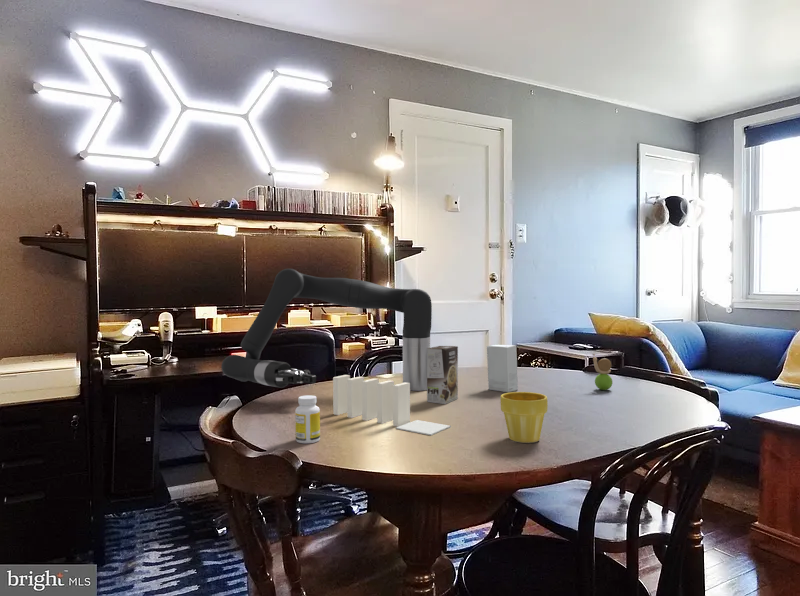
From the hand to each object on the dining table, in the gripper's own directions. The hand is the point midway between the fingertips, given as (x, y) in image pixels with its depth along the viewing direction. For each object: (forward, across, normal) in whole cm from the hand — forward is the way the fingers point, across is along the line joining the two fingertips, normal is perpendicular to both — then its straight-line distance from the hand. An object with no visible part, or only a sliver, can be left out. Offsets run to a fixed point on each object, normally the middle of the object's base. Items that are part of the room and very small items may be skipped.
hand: (314, 379), depth 152 cm
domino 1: (+10, 0, +8) cm, 13 cm away
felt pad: (+37, 0, +8) cm, 38 cm away
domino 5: (+30, 0, +8) cm, 31 cm away
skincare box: (+32, +54, +8) cm, 64 cm away
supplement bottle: (+22, -24, +8) cm, 33 cm away
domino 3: (+20, 0, +8) cm, 22 cm away
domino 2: (+15, 0, +8) cm, 17 cm away
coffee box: (+24, +30, +8) cm, 39 cm away
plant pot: (+60, +5, +8) cm, 61 cm away
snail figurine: (+59, +73, +7) cm, 94 cm away
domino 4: (+25, 0, +8) cm, 27 cm away
